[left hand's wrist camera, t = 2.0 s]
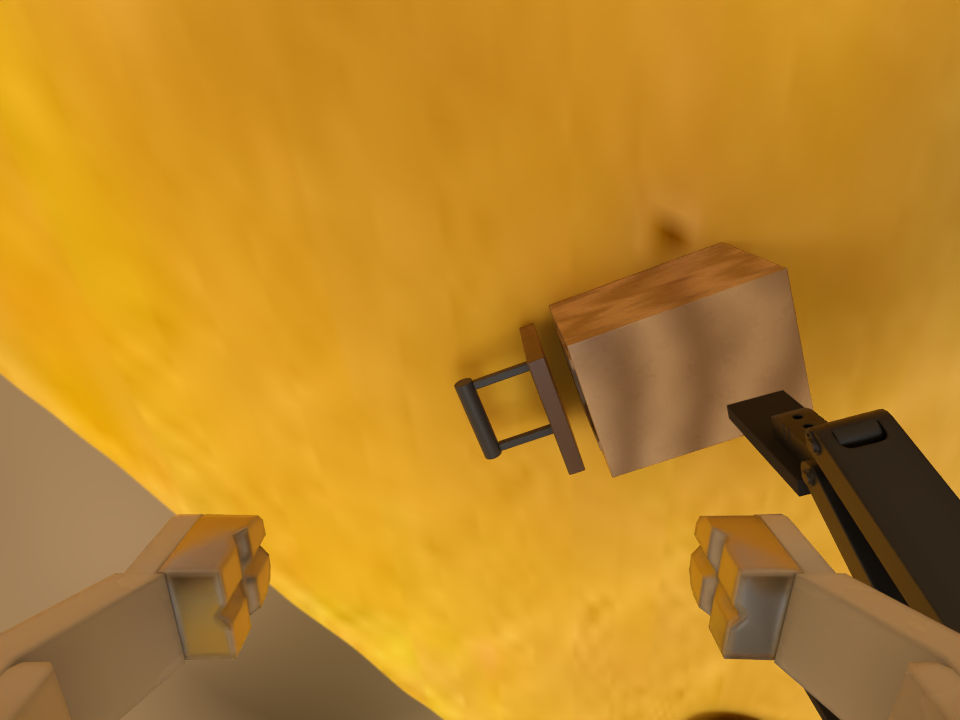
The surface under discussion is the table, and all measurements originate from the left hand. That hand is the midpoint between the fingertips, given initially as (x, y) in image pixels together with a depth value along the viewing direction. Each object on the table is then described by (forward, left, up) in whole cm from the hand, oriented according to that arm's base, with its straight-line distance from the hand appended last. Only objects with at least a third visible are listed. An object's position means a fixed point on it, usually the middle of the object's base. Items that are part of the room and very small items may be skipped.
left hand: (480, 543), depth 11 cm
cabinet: (+14, +7, -34) cm, 38 cm away
